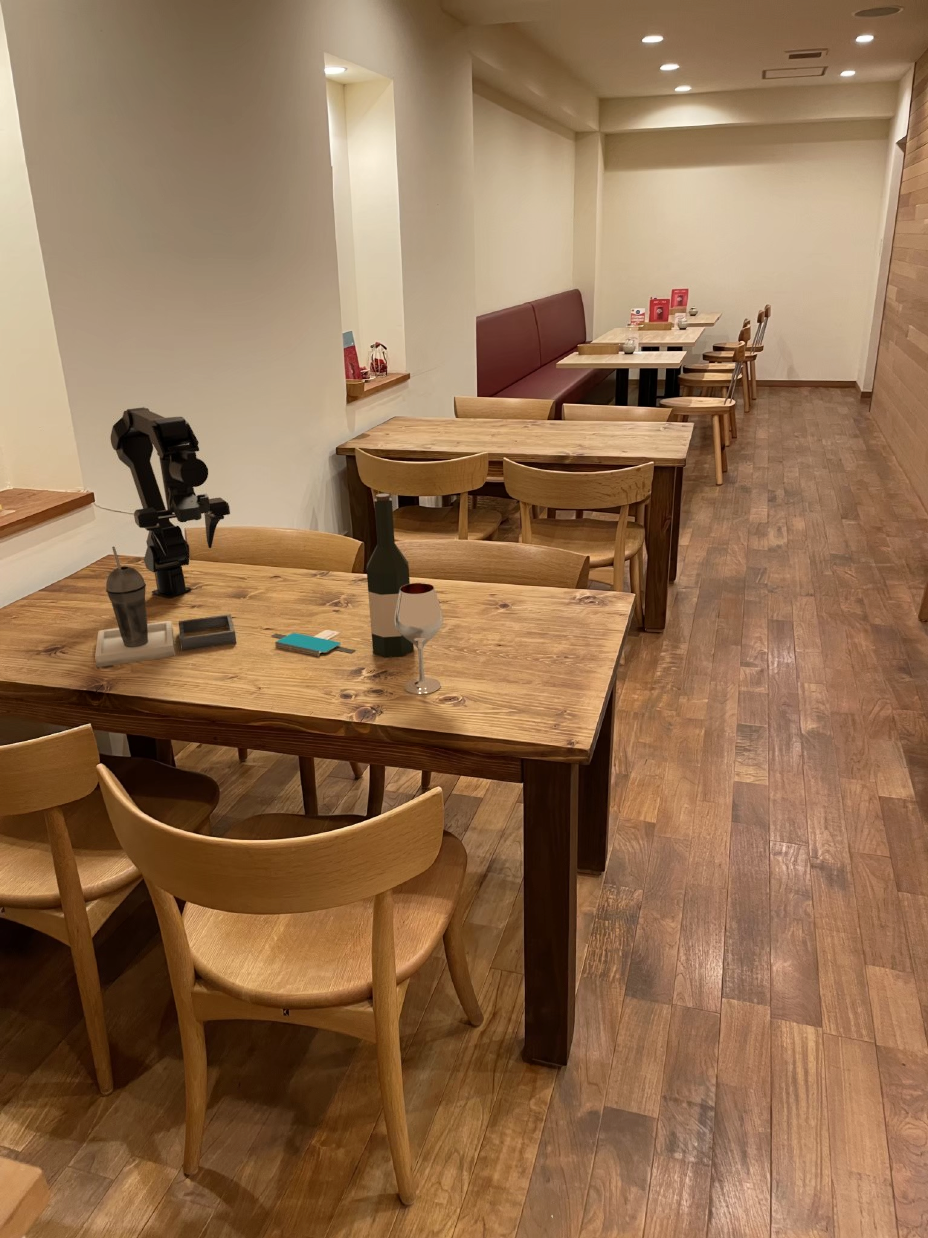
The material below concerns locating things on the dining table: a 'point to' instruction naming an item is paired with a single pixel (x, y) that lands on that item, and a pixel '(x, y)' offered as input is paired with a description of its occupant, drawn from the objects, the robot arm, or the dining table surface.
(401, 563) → the wine bottle
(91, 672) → the dining table surface
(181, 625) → the grey-brown square frame
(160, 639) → the cream white tray
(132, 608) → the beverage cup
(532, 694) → the dining table surface
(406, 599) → the wineglass
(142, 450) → the robot arm
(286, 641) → the teal flat block
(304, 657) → the dining table surface
